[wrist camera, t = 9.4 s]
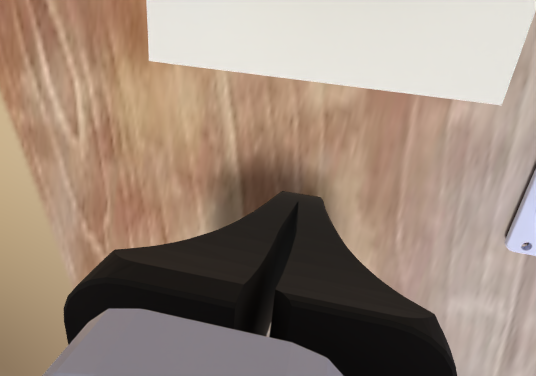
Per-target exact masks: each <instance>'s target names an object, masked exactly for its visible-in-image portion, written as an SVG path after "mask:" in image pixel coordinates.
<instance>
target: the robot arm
mask: <svg viewBox="0 0 536 376" xmlns="http://www.w3.org/2000/svg"><path fill="white" fill-rule="evenodd" d="M527 242H529V244H528V245H527V246H525V247H522V244H524V243H527ZM505 245H506V247H507V248H508V249H509V250H510V251H513V252H518V253H523V254H529V255H535V256H536V169H535V171H534V174H533V176H532V178H531V181H530V183H529V185H528V188H527V190H526V192H525V195H524V197H523V199H522V202H521V204H520V206H519V209H518V211H517V214H516V216H515V218H514V221H513V223H512V225H511V228H510V230H509V232H508V235H507V237H506V239H505ZM64 323H65V328H66V334H67V339H68V344H69V345H68V346H67V348H66V349H65V350H64V351H63V352H62V353H61V355H60V356H59V357H58V358H57V359H56V361H55V362H54V363H53V364H52V365H51V366H50V367H49V368H48V370H47V371H46V372H45V373H44V374H43V375H42V376H457V372H456V366H455V363H454V360H453V357H452V353H451V350H450V348H449V345H448V343H447V340H446V338H445V335H444V333H443V331H442V329H441V327H440V325H439V323H438V321H437V318H436V316H435V314H433V313H432V312H430V311H428V310H426V309H425V308H423V307H421V306H419V305H418V304H416V303H414V302H412V301H411V300H409V299H407V298H405V297H404V296H402V295H401V294H399V293H398V292H396V291H395V290H393V289H392V288H391V287H389V286H388V285H386V284H385V283H384V282H382V281H381V280H380V279H379V278H377V277H376V276H375V275H374V274H373V273H372V272H370V271H369V270H368V269H367V268H366V267H365V266H364V265H363V264H362V263H361V262H360V261H359V260H358V259H357V258H356V257H355V256H354V255H353V254H352V252H351V251H350V250H349V249H348V248H347V246H346V245H345V244H344V242H343V241H342V239H341V238H340V236H339V235H338V233H337V231H336V230H335V228H334V226H333V224H332V222H331V220H330V218H329V216H328V214H327V212H326V209H325V206H324V202H323V200H322V199H321V197H315V196H309V195H303V194H297V193H291V192H285V191H282V192H281V193H279V194H278V195H276V196H275V197H273V198H272V199H271V200H269V201H268V202H267V203H265V204H264V205H263V206H261V207H260V208H258V209H257V210H255V211H254V212H252V213H250V214H249V215H247V216H245V217H243V218H242V219H240V220H238V221H236V222H234V223H232V224H230V225H228V226H226V227H223V228H221V229H218V230H216V231H213V232H210V233H207V234H204V235H201V236H197V237H194V238H191V239H187V240H183V241H179V242H174V243H169V244H163V245H157V246H150V247H140V248H130V249H118V250H114V251H113V252H111V253H110V254H109V255H108V256H107V257H106V258H105V259H104V260H103V261H102V262H101V263H100V264H99V265H98V266H97V267H96V268H95V269H93V270H92V271H91V272H90V273H89V274H88V275H87V276H86V277H85V278H84V279H83V280H82V281H81V282H80V283H79V284H78V285H77V286H76V287H75V289H74V290H73V291H72V292H71V293H70V294H69V295H68V297H67V300H66V303H65V306H64ZM270 324H271V327H270ZM269 327H270V335H269V337H266V336H267V333H268V330H269Z"/></svg>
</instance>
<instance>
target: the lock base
mask: <svg viewBox="0 0 536 376" xmlns="http://www.w3.org/2000/svg"><path fill="white" fill-rule="evenodd" d="M535 11H536V0H147V22H148V45H149V61H154V62H161V63H169V64H177V65H185V66H193V67H201V68H209V69H217V70H225V71H233V72H241V73H249V74H257V75H265V76H273V77H281V78H289V79H297V80H305V81H313V82H321V83H329V84H337V85H345V86H352V87H360V88H368V89H376V90H384V91H392V92H400V93H408V94H416V95H424V96H432V97H440V98H448V99H456V100H464V101H472V102H480V103H488V104H496V105H502V103H503V100H504V98H505V95H506V92H507V89H508V86H509V84H510V81H511V78H512V75H513V72H514V70H515V67H516V64H517V61H518V58H519V56H520V53H521V50H522V47H523V44H524V42H525V39H526V36H527V33H528V30H529V28H530V25H531V22H532V19H533V16H534V14H535Z"/></svg>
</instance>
